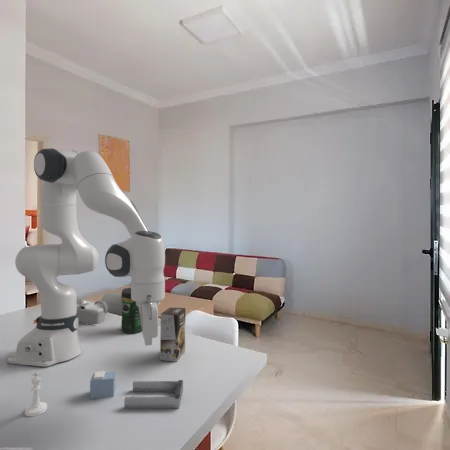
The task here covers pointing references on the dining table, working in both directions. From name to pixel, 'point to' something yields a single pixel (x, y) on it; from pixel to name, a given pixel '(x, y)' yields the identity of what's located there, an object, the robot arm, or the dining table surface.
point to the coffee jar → (130, 314)
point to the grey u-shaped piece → (155, 401)
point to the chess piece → (36, 399)
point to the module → (102, 384)
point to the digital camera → (92, 312)
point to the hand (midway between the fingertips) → (148, 343)
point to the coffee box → (172, 334)
